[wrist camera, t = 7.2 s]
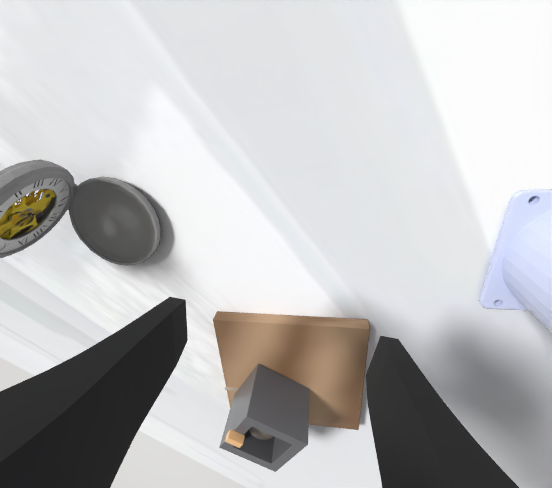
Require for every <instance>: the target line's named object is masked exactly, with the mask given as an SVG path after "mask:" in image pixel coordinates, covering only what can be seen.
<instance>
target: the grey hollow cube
mask: <svg viewBox="0 0 552 488" xmlns="http://www.w3.org/2000/svg"><path fill="white" fill-rule="evenodd" d="M308 422H309V388H308V387H306V386H303V385H301V384H299V383H297V382H295V381H293V380H291V379H289V378H287V377H285V376H283V375H281V374H278V373H276V372H274V371H272V370H270V369H268V368H266V367H264V366H262V365H260V364H258V365H257V366H256V367H255V369H254V370H253V371H252V372H251V374H250V375H249V376H248V378H247V379H246V380H245V381H244V383H243V384H242V385H241V387H240V388H239V389H238V390H237V392H236V393H235V394H234V398H233V401H232V405H231V408H230V412H229V415H228V419H227V423H226V426H225V430H224V433H223V437H222V440H221V444H220V448H222V449H224V450H227V451H229V452H231V453H234V454H236V455H238V456H241V457H243V458H245V459H247V460H250V461H252V462H254V463H257V464H259V465H261V466H263V467H266V468H268V469H270V470H273V471H275V472H276V471H277V470H278V469H279V468H281V467H282V466H283V465H284V464H285V463H286V462H288V461H289V460H290V459H291V458H292V457H294V456H295V455H296V454H297V453H298V452H299V451H301V450H302V449H303V448H304V447H305V446H307V445H308ZM251 427H254V428H256V429H259V430H261V431H263V432H265V433H267V434H270V435H272V436H274V437H273V438H271V439H268V440H262V439H258V438H256V437H254V436H253V435H252V434H251V433H250V431H249V429H250V428H251Z"/></svg>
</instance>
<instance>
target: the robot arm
mask: <svg viewBox="0 0 552 488" xmlns="http://www.w3.org/2000/svg"><path fill="white" fill-rule="evenodd" d="M532 196H535V199H534V200H533V201H532V202H529V199H530V198H531V197H532ZM496 300H499V301H497V302H495V301H496ZM479 302H480V304H481V305H482V306H483V307H484V308H496V309H518V310H529V311H530V312H531V313H532V314H533V315H534V316H535V317H536V318H537V319H538V320H539V321H540V322H541V323H542V324H543V325H544V326H545V327H546V328H547V329H548V330H549V331H550V332H551V333H552V190H520V191H517V192H515V193H514V194H513V195H512V196H511V198H510V201H509V204H508V207H507V210H506V214H505V217H504V220H503V223H502V227H501V230H500V233H499V236H498V239H497V243H496V246H495V249H494V252H493V255H492V259H491V262H490V265H489V268H488V272H487V275H486V278H485V281H484V284H483V288H482V291H481V294H480V297H479ZM187 340H188V339H187V320H186V302H185V300H183V299H178V298H173V297H169V298H168V299H166V300H165V301H163V302H162V303H160V304H159V305H157V306H156V307H154V308H153V309H151V310H150V311H148V312H147V313H145V314H144V315H142V316H141V317H139V318H138V319H136V320H135V321H133V322H131V323H130V324H128V325H127V326H125V327H124V328H122V329H121V330H119V331H117V332H116V333H114V334H112V335H111V336H109V337H107V338H106V339H104V340H102V341H101V342H99V343H97V344H96V345H94V346H92V347H91V348H89V349H87V350H85V351H84V352H82V353H80V354H78V355H76V356H74V357H73V358H71V359H69V360H67V361H65V362H63V363H61V364H59V365H57V366H55V367H53V368H51V369H49V370H47V371H45V372H43V373H41V374H38V375H36V376H34V377H32V378H30V379H27V380H25V381H23V382H21V383H19V384H16V385H14V386H12V387H10V388H7V389H5V390H3V391H1V392H0V488H110V487H111V484H112V482H113V480H114V478H115V476H116V474H117V472H118V469H119V467H120V465H121V463H122V461H123V459H124V457H125V455H126V453H127V451H128V449H129V447H130V445H131V443H132V441H133V439H134V437H135V435H136V433H137V431H138V430H139V428H140V426H141V424H142V422H143V421H144V419H145V417H146V416H147V414H148V412H149V411H150V409H151V407H152V406H153V404H154V402H155V401H156V399H157V397H158V396H159V394H160V392H161V391H162V389H163V387H164V386H165V384H166V382H167V380H168V379H169V377H170V375H171V374H172V372H173V370H174V368H175V367H176V365H177V363H178V361H179V358H180V356H181V354H182V352H183V349H184V347H185V345H186V342H187ZM366 382H367V399H368V408H369V414H370V420H371V426H372V431H373V437H374V442H375V448H376V453H377V459H378V464H379V470H380V475H381V481H382V488H519V487H518V486H517V485H516V484H515V483H514V482H513V481H512V480H511V479H510V478H509V477H508V476H507V475H506V474H505V472H504V471H503V470H502V469H501V468H500V467H499V466H498V465H497V464H496V463H495V462H494V460H493V459H492V458H491V457H490V456H489V455H488V454H487V453H486V452H485V451H484V450H483V448H482V447H481V446H480V445H479V444H478V443H477V442H476V441H475V439H474V438H473V437H472V436H471V435H470V434H469V432H468V431H467V430H466V429H465V428H464V426H463V425H462V424H461V423H460V421H459V420H458V419H457V418H456V417H455V415H454V414H453V413H452V412H451V411H450V409H449V408H448V407H447V405H446V404H445V403H444V402H443V400H442V399H441V398H440V396H439V395H438V394H437V392H436V391H435V390H434V388H433V387H432V386H431V384H430V383H429V382H428V380H427V379H426V378H425V376H424V375H423V373H422V372H421V371H420V369H419V368H418V366H417V365H416V364H415V362H414V361H413V359H412V358H411V356H410V355H409V354H408V352H407V351H406V349H405V348H404V347H403V345H402V344H401V342H400V341H399V340H398V339H394V338H389V337H384V336H380V339H379V342H378V344H377V347H376V350H375V352H374V355H373V358H372V361H371V363H370V366H369V369H368V372H367V374H366Z"/></svg>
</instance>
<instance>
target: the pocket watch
mask: <svg viewBox="0 0 552 488" xmlns="http://www.w3.org/2000/svg"><path fill="white" fill-rule="evenodd" d="M39 189H40V190H39ZM36 190H39V191H38V193H36V194H37V195H36V194H34V193H35V191H36ZM42 190H43V191H42ZM41 192H43V193H42V196H41V199H40V200H39V198H40V194H41ZM28 193H29V195H28V197H27V196H26V194H28ZM30 194H31V196H30ZM34 195H36V197H35V196H34ZM38 196H39V197H38ZM34 197H35V198H34ZM20 198H21V202H20ZM25 198H26V199H25ZM37 199H38V201H37ZM18 200H19V202H20V204H19V205H18V203H19V202H17V201H18ZM36 201H37V202H36ZM15 202H16V203H17V205H15ZM67 210H69V214H70V218H71V222H72V225H73V227H74V229H75V231H76V233H77V235H78V236H79V238H80V239H81V240H82V241H83V242H84V244H85V245H86V246H87V247H88V248H89V249H90V250H91V251H93V252H94V253H96V254H97V255H98V256H100V257H101V258H103V259H105V260H107V261H109V262H112V263H115V264H119V265H135V264H139V263H141V262H144V261H145V260H147V259H148V258H149V257H150V256H151V255H152V254H153V253H154V252H155V251H156V249H157V247H158V244H159V241H160V233H161V230H160V225H159V220H158V217H157V215H156V213H155V210H154V208H153V207H152V205H151V204H150V203H149V201H148V200H147V199H146V197H145V196H144V195H143V194H142V193H141V192H139V191H138V190H137V189H136V188H134V187H133V186H131V185H129V184H128V183H126V182H124V181H121V180H118V179H115V178H109V177H98V178H92V179H89V180H86V181H84V182H82V183H81V184H80V185H78V186H77V185H76V184H74V178H73V176H72V175H71V174H70V173H69V171H68V170H66V169H65V168H63V167H61V166H59V165H57V164H54V163H52V162H49V161H44V160H33V161H27V162H22V163H18V164H15V165H13V166H10V167H8V168H6V169H4V170H2V171H0V258H3V257H6V256H9V255H12V254H14V253H16V252H19V251H21V250H23V249H25V248H27V247H29V246H30V245H32V244H34V243H35V242H37V241H38V240H39V239H41V238H42V237H43V236H44V235H45V234H47V233H48V232H49V231H50V230H51V229H52V228H53V227H54V226H55V225H56V224H57V223H58V222H59V221H60V219H61V218H62V216H63V215H64V214H65V212H66V211H67Z"/></svg>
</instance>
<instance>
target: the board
mask: <svg viewBox="0 0 552 488" xmlns="http://www.w3.org/2000/svg"><path fill="white" fill-rule="evenodd" d="M213 322H214V327H215V332H216V337H217V342H218V347H219V353H220V358H221V363H222V368H223V373H224V378H225V383H226V387H225V390H227V393H228V398H229V403H230V408H231V405H232V401H233V398H234V394H235V393H236V392H237V390H238V389H239V388H240V387H241V385H242V384H243V383H244V381H245V380H246V379H247V378H248V376H249V375H250V374H251V372H252V371H253V370H254V369H255V367H256V366H257V365H258V364H260V365H262V366H264V367H266V368H268V369H270V370H272V371H274V372H276V373H278V374H281V375H283V376H285V377H287V378H289V379H291V380H293V381H295V382H297V383H299V384H301V385H303V386H306V387H308V388H309V422H308V424H311V425H320V426H329V427H337V428H346V429H355V430H358V429H359V420H360V411H361V402H362V393H363V384H364V375H365V366H366V357H367V348H368V339H369V330H370V328H369V323H368V320H364V319H346V318H327V317H309V316H290V315H272V314H253V313H234V312H217V313H216V315H215V317H214V319H213ZM249 431H250V433H251V434H252V435H253V436H254V437H256V438H258V439H262V440H268V439H271V438H273V437H274V436H272V435H270V434H267V433H265V432H263V431H261V430H259V429H256V428H254V427H251V428H250V429H249Z"/></svg>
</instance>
